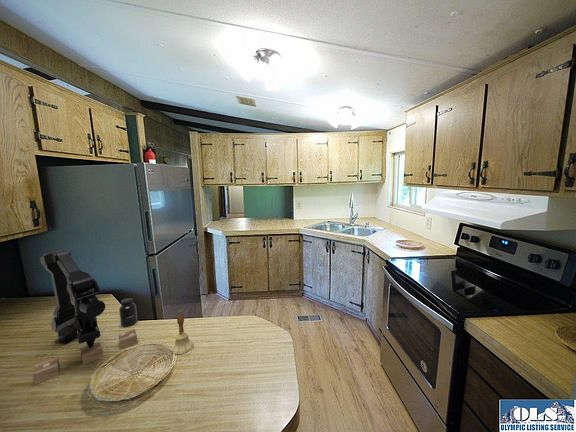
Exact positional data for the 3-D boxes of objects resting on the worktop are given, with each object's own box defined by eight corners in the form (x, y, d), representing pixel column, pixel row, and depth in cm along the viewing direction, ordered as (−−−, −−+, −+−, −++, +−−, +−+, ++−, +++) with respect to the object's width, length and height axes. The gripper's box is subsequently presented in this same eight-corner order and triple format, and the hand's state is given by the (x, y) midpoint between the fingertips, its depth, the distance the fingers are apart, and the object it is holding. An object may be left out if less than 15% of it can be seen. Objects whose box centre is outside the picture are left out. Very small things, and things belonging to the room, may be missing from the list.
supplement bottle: (129, 328, 114) (126, 304, 113) (117, 326, 116) (114, 303, 114) (141, 320, 121) (138, 297, 120) (129, 318, 123) (126, 296, 121)
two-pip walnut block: (119, 342, 104) (118, 334, 103) (135, 337, 108) (134, 328, 107) (120, 350, 99) (119, 340, 99) (137, 343, 103) (136, 334, 102)
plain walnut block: (81, 357, 95) (80, 348, 95) (100, 350, 100) (99, 341, 99) (83, 365, 91) (82, 355, 91) (103, 357, 95) (102, 347, 95)
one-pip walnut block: (37, 374, 87) (35, 364, 87) (60, 366, 91) (58, 356, 90) (35, 385, 83) (32, 374, 82) (59, 375, 86) (57, 365, 86)
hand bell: (182, 339, 104) (179, 304, 102) (198, 343, 101) (194, 307, 99) (166, 352, 97) (162, 314, 95) (182, 356, 94) (179, 318, 92)
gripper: (56, 308, 94) (63, 345, 96) (55, 328, 81) (62, 371, 83) (93, 298, 102) (98, 333, 104) (97, 315, 88) (103, 355, 90)
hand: (90, 347), depth 95 cm, fingers closed
